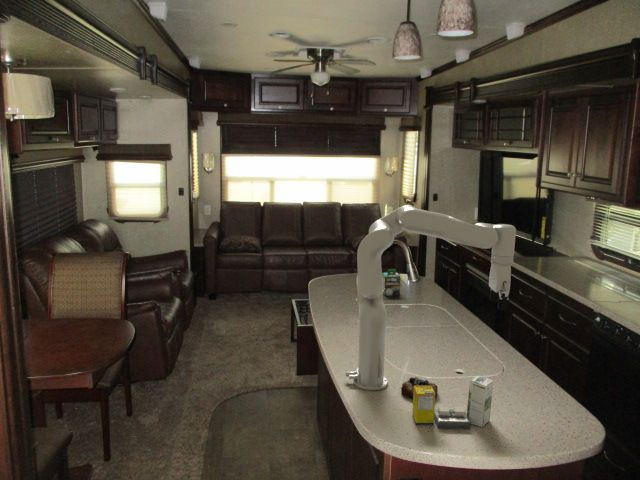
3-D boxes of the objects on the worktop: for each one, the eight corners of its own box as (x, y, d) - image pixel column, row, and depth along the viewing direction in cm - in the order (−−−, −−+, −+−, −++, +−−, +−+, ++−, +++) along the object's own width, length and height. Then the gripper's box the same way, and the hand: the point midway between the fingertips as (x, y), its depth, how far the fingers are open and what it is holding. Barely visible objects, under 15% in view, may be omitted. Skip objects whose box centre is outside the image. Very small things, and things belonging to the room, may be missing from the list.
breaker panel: (437, 428, 175) (438, 420, 174) (433, 415, 182) (433, 408, 182) (469, 429, 174) (470, 421, 174) (463, 416, 182) (464, 409, 182)
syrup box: (473, 415, 183) (476, 374, 180) (490, 421, 180) (493, 379, 177) (465, 421, 179) (468, 380, 176) (483, 428, 175) (486, 386, 172)
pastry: (412, 384, 205) (413, 369, 204) (442, 394, 198) (443, 379, 197) (397, 395, 197) (397, 379, 196) (427, 406, 189) (428, 390, 188)
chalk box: (396, 291, 323) (398, 266, 320) (400, 295, 314) (401, 270, 311) (381, 291, 322) (382, 266, 319) (384, 295, 313) (385, 270, 310)
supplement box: (429, 415, 183) (431, 385, 180) (433, 425, 177) (435, 393, 175) (411, 415, 182) (413, 385, 180) (415, 425, 177) (417, 393, 174)
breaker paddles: (438, 415, 178) (439, 411, 177) (437, 410, 179) (438, 406, 178) (464, 415, 178) (465, 411, 177) (463, 411, 179) (464, 407, 178)
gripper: (484, 253, 204) (481, 298, 207) (499, 265, 187) (494, 313, 190) (505, 254, 204) (501, 298, 207) (521, 265, 187) (516, 313, 190)
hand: (498, 305), depth 198 cm, fingers open, 9 cm apart
